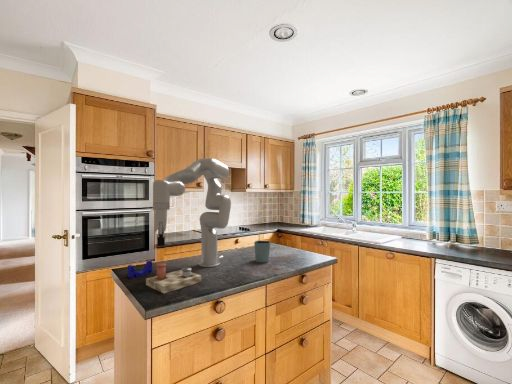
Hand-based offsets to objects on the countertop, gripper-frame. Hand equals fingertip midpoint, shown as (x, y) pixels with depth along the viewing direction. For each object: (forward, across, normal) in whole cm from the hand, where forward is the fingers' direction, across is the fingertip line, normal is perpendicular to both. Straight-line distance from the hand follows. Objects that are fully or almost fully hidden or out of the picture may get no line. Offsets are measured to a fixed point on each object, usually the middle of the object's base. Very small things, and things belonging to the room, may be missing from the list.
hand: (161, 245), depth 127 cm
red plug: (+15, 0, 0) cm, 15 cm away
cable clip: (+19, -20, -10) cm, 29 cm away
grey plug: (+18, 0, +12) cm, 22 cm away
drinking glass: (+18, -27, +60) cm, 68 cm away
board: (+18, 0, +6) cm, 19 cm away
